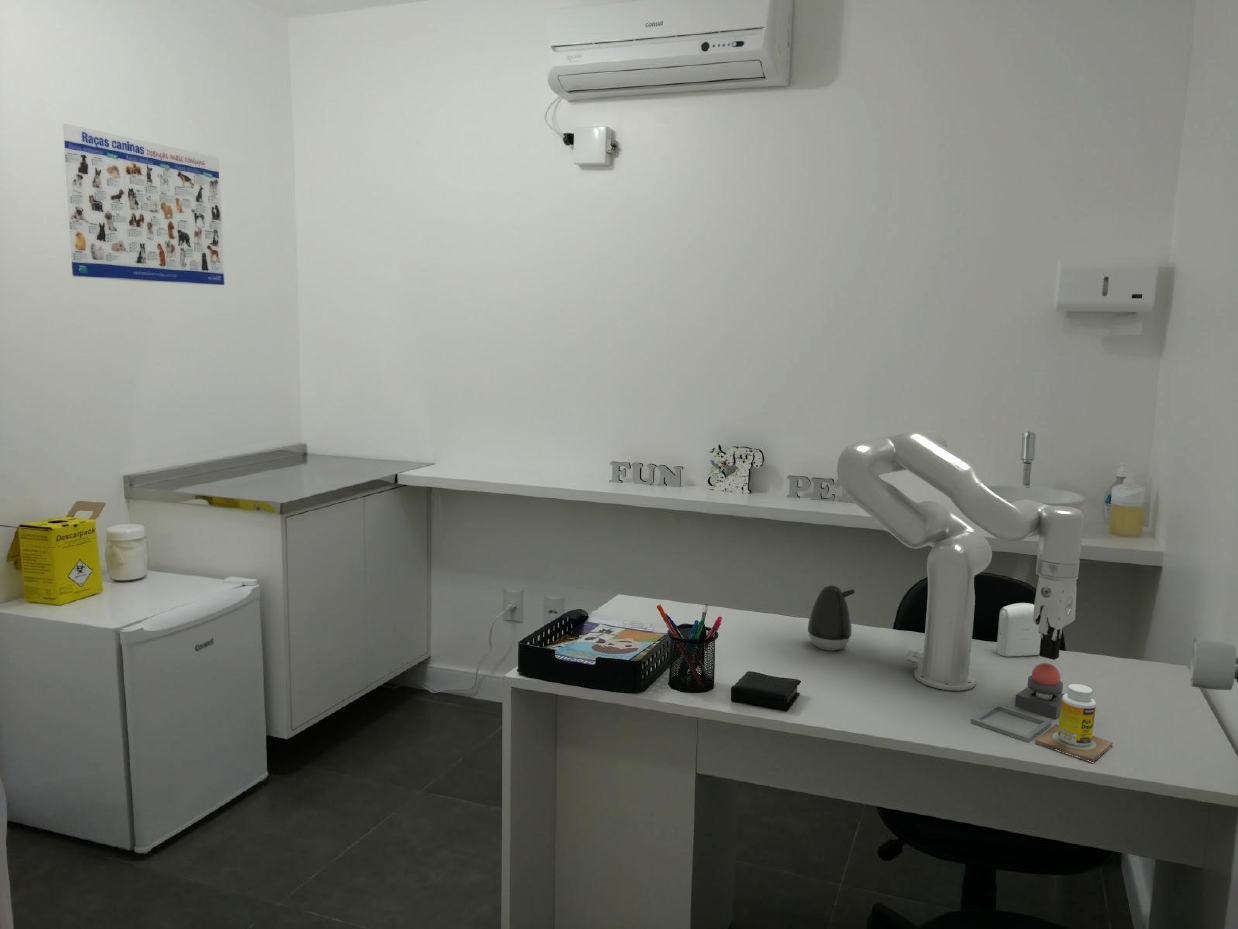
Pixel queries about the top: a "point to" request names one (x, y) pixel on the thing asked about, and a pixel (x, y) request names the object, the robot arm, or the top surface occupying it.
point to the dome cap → (1045, 681)
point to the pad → (1084, 752)
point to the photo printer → (1018, 631)
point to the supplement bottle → (1077, 715)
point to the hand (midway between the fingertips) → (1048, 657)
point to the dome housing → (1039, 703)
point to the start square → (1028, 737)
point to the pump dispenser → (830, 619)
